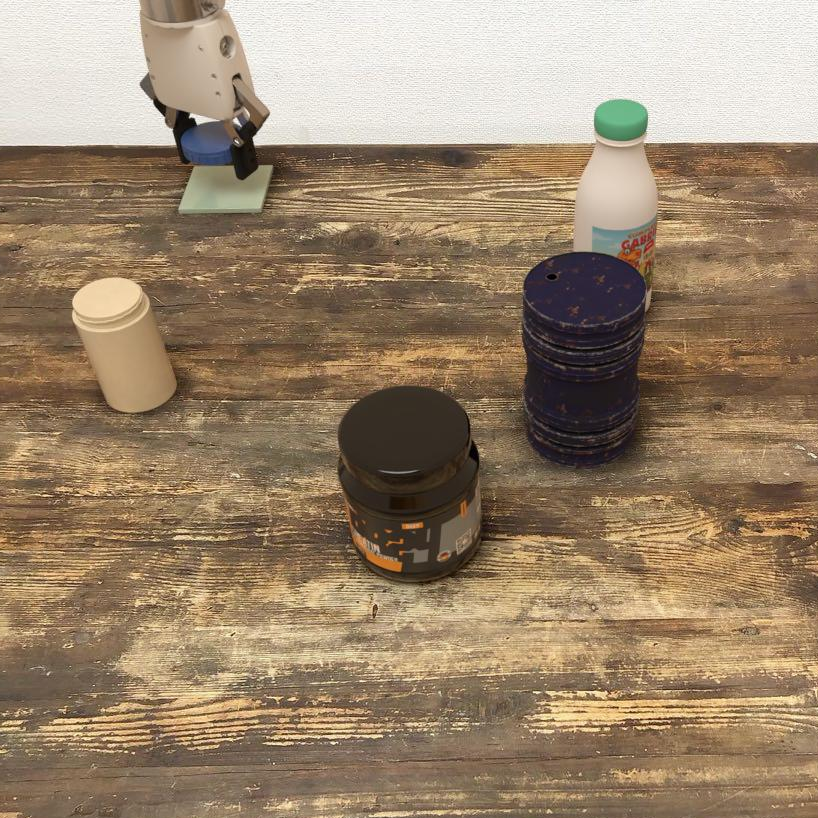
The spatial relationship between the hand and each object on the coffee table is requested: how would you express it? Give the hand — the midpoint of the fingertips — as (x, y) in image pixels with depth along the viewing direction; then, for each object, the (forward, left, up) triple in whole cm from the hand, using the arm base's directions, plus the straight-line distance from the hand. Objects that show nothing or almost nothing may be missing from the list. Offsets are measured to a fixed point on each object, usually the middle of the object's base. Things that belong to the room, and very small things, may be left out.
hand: (219, 165), depth 117 cm
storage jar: (+10, -54, -3) cm, 55 cm away
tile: (0, 0, -3) cm, 3 cm away
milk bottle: (+23, -41, -3) cm, 47 cm away
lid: (0, 0, +3) cm, 3 cm away
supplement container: (-8, -57, -3) cm, 58 cm away
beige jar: (-20, -27, -3) cm, 34 cm away
